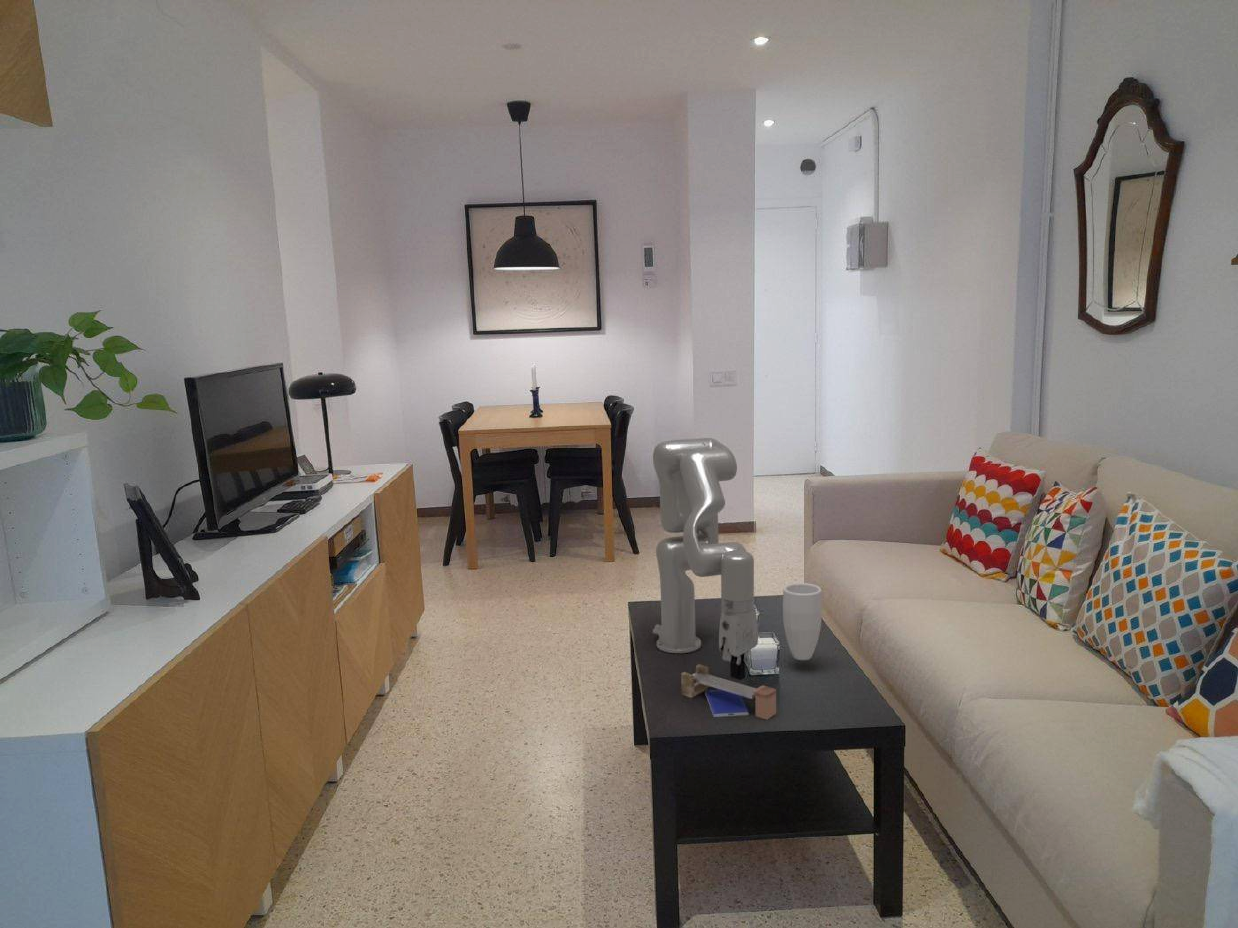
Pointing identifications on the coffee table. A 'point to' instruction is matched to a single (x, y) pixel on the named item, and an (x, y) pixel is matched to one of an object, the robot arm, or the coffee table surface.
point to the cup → (802, 618)
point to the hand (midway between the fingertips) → (737, 677)
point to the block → (765, 702)
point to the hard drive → (725, 703)
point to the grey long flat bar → (724, 684)
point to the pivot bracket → (688, 682)
